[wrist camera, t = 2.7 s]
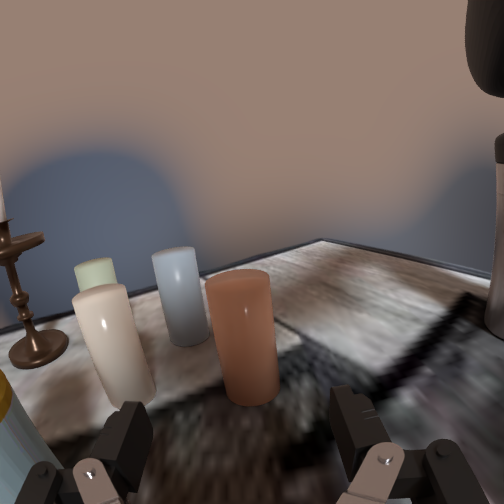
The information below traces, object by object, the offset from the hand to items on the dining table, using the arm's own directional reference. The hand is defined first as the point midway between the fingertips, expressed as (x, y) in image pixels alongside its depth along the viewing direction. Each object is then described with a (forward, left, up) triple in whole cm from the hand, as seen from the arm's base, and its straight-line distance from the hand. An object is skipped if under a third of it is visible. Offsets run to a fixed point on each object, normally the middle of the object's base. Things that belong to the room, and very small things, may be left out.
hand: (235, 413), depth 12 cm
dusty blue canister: (-12, -19, -8) cm, 24 cm away
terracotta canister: (-9, -7, -8) cm, 14 cm away
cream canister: (-2, -16, -8) cm, 18 cm away
